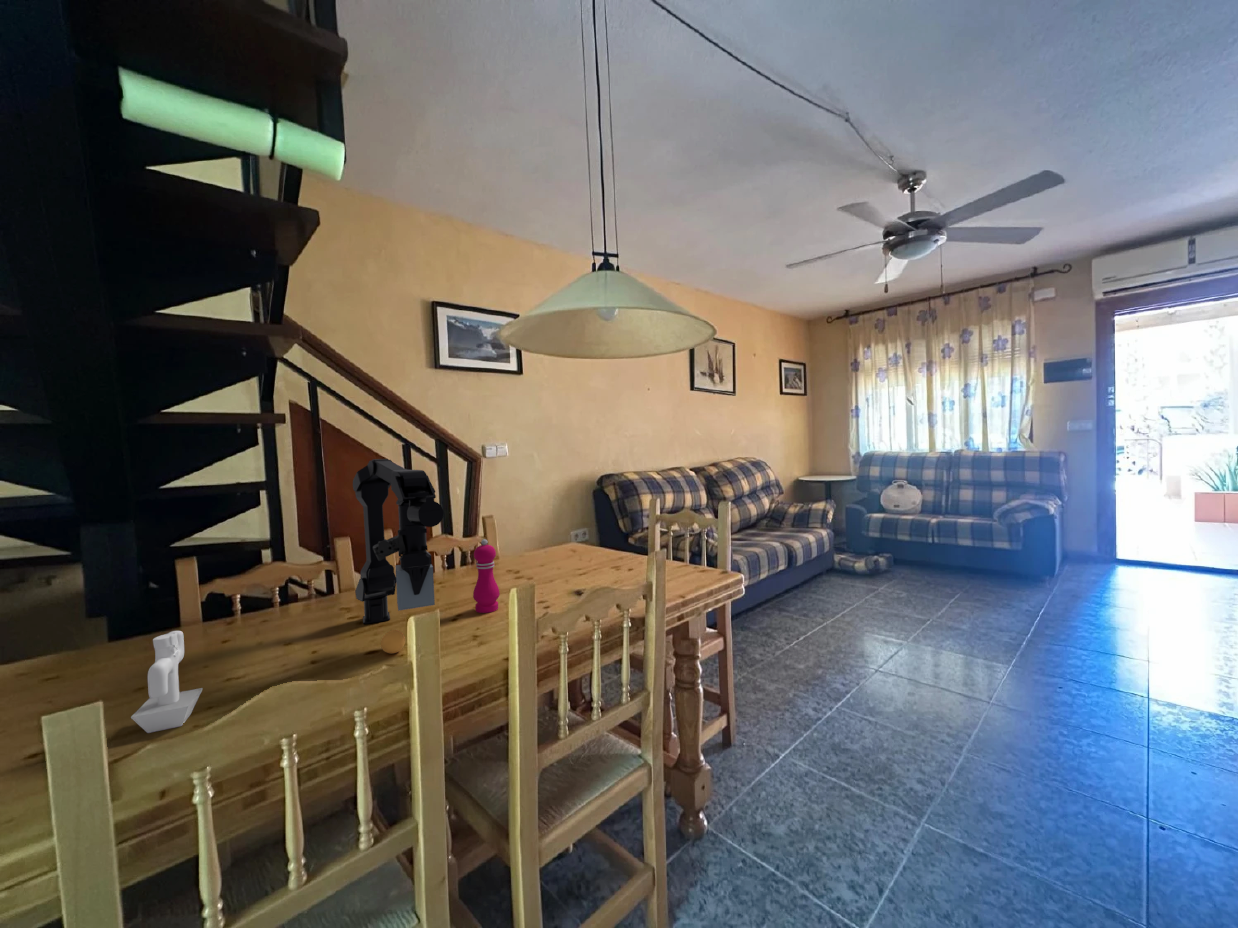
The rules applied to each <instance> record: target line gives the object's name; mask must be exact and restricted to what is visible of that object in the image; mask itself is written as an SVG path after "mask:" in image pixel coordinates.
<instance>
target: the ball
mask: <svg viewBox="0 0 1238 928" xmlns="http://www.w3.org/2000/svg"><path fill="white" fill-rule="evenodd" d="M405 644H406V637H405V634H404V633H403V632H402V631H400V630H399V629H390V630H389V631H387V632H386V633H384V634H383V636H382V637H381V640H380V646H381V648H382V650H383V652H384V653H387V654H397V653H398V652H400V651H401V650H402V649H403V648H404V646H405Z"/></svg>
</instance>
